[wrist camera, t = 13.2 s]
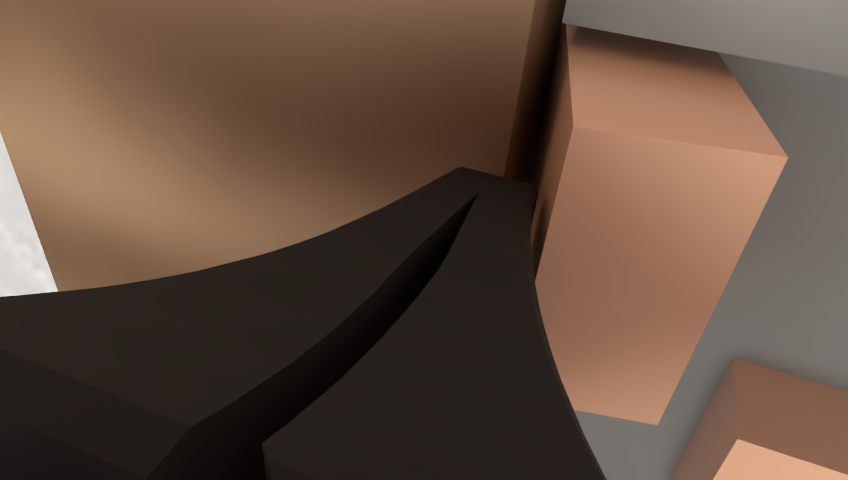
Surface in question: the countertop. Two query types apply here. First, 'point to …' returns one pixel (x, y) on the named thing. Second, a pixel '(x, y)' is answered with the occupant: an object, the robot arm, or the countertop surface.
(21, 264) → the countertop surface
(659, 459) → the tray
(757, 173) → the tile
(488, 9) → the wooden cutting board
